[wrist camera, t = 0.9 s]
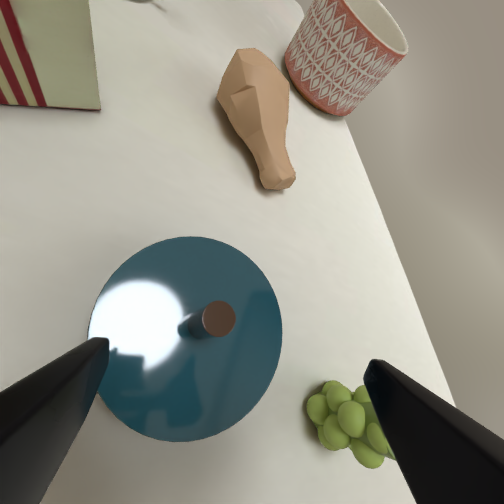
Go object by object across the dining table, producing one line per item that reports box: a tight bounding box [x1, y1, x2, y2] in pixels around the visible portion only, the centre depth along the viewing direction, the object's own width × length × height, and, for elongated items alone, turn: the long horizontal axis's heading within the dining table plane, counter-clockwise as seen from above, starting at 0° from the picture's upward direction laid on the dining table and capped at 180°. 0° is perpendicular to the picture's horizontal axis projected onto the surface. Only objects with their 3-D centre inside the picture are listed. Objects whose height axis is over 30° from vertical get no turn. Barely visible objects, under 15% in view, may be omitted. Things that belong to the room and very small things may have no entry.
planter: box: [285, 0, 409, 116], centre depth 48 cm, size 19×19×15 cm
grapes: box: [307, 381, 396, 469], centre depth 23 cm, size 7×7×12 cm
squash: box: [216, 48, 296, 190], centre depth 35 cm, size 11×20×9 cm, turn 25°
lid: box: [87, 236, 282, 442], centre depth 18 cm, size 16×16×5 cm
